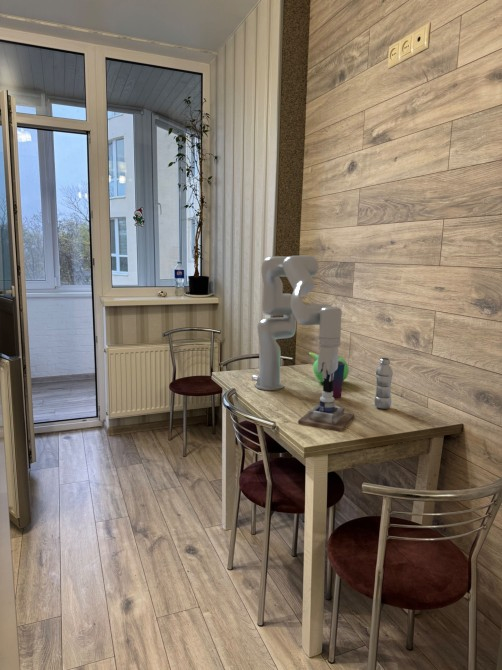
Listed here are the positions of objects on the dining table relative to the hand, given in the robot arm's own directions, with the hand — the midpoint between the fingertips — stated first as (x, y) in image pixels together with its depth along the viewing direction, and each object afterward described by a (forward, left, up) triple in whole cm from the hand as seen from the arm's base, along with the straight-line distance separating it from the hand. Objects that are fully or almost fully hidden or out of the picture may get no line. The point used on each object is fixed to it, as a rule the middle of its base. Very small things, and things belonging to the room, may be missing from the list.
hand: (327, 391), depth 172 cm
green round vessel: (-15, +48, -11) cm, 52 cm away
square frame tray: (0, 0, -11) cm, 11 cm away
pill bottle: (0, 0, -10) cm, 10 cm away
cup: (-6, +29, -11) cm, 32 cm away
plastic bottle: (+15, +24, -11) cm, 31 cm away
